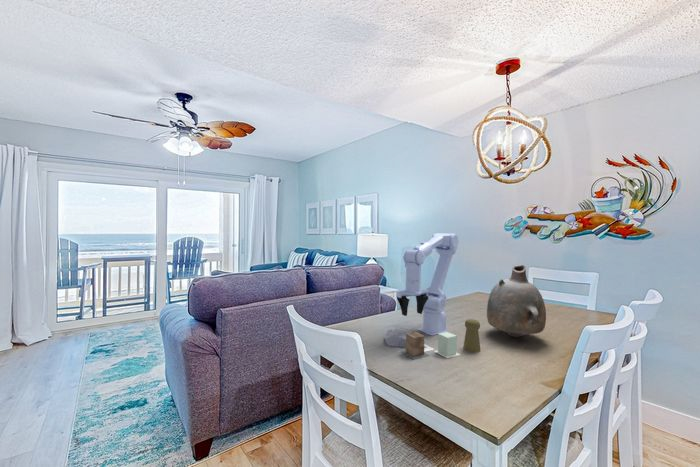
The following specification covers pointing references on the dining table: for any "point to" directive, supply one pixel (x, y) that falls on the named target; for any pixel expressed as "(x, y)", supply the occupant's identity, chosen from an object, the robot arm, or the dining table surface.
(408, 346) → the walnut block
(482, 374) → the dining table surface
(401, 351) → the charcoal mat
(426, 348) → the cream tile
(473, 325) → the cork
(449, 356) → the tile
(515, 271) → the jug
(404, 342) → the stone block
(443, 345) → the sage block
